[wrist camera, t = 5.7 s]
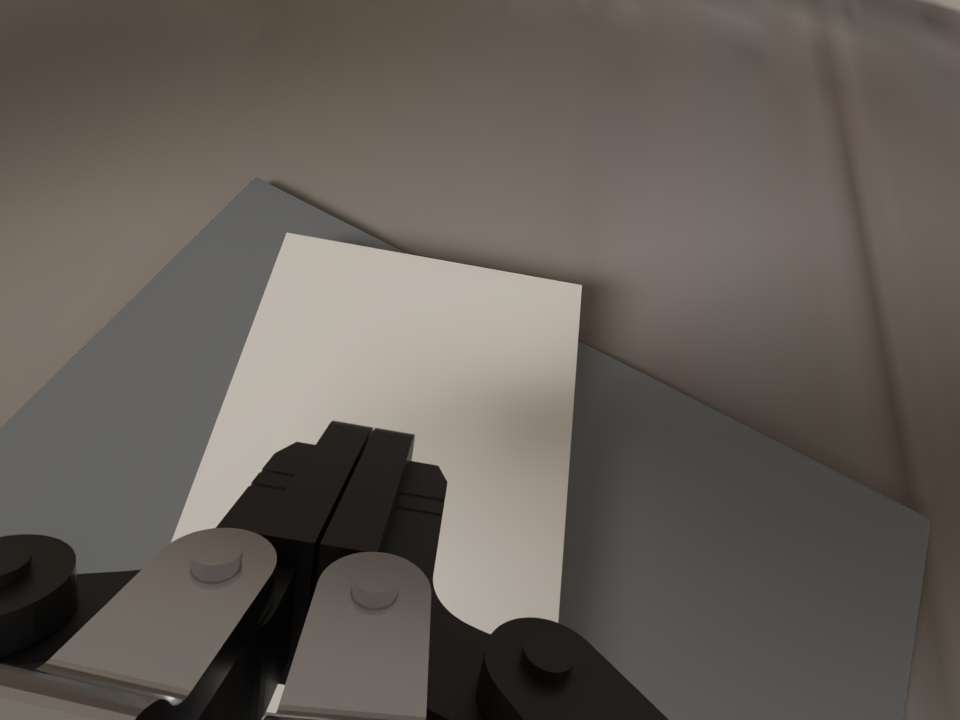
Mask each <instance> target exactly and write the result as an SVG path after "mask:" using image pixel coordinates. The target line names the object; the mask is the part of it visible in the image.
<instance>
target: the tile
mask: <svg viewBox="0 0 960 720" xmlns="http://www.w3.org/2000/svg"><path fill="white" fill-rule="evenodd" d="M581 292H582V285H578V284H573V283H567V282H561V281H556V280H550V279H545V278H539V277H533V276H528V275H522V274H516V273H511V272H505V271H500V270H494V269H488V268H483V267H477V266H472V265H466V264H460V263H455V262H449V261H444V260H438V259H432V258H427V257H421V256H416V255H410V254H404V253H399V252H393V251H387V250H382V249H376V248H371V247H365V246H359V245H354V244H348V243H343V242H337V241H331V240H326V239H320V238H315V237H309V236H303V235H298V234H292V233H286V236H285V238H284V241H283V244H282V246H281V249H280V252H279V254H278V257H277V260H276V262H275V265H274V268H273V270H272V273H271V276H270V279H269V281H268V284H267V287H266V289H265V292H264V295H263V297H262V300H261V303H260V305H259V308H258V311H257V313H256V316H255V319H254V321H253V324H252V327H251V329H250V332H249V335H248V337H247V340H246V343H245V346H244V348H243V351H242V354H241V356H240V359H239V362H238V364H237V367H236V370H235V372H234V375H233V378H232V380H231V383H230V386H229V388H228V391H227V394H226V396H225V399H224V402H223V404H222V407H221V410H220V412H219V415H218V418H217V421H216V423H215V426H214V429H213V431H212V434H211V437H210V439H209V442H208V445H207V447H206V450H205V453H204V455H203V458H202V461H201V463H200V466H199V469H198V471H197V474H196V477H195V479H194V482H193V485H192V487H191V490H190V493H189V496H188V498H187V501H186V504H185V506H184V509H183V512H182V514H181V517H180V520H179V522H178V525H177V528H176V530H175V533H174V536H173V538H172V541H171V543H172V542H173V541H175V540H176V539H178V538H181V537H183V536H185V535H188V534H190V533H193V532H197V531H201V530H205V529H212V528H216V527H217V525H218V524H219V523H220V522H221V520H222V519H223V518H224V517H225V515H226V514H227V513H228V512H229V510H230V509H231V508H232V506H233V505H234V504H235V503H236V501H237V500H238V499H239V498H240V496H241V495H242V494H243V493H244V491H245V490H246V489H247V487H248V486H251V483H252V481H253V480H254V479H255V477H256V476H257V475H258V474H259V472H262V468H263V467H264V466H265V465H266V463H267V462H268V461H269V460H270V458H271V457H272V456H273V455H274V453H276V452H278V451H280V450H282V449H284V448H286V447H288V446H289V445H291V444H293V443H295V442H302V443H308V444H313V445H316V444H317V442H318V441H319V439H320V438H321V436H322V434H323V433H324V431H325V430H326V428H327V427H328V425H329V424H330V422H331V421H339V422H345V423H351V424H356V425H362V426H368V427H373V431H374V429H375V428H380V429H386V430H392V431H398V432H404V433H409V434H415V440H414V448H413V454H412V460H411V461H414V462H420V463H426V464H432V465H438V466H439V468H440V470H441V471H442V473H443V475H444V477H445V479H446V480H447V482H448V483H447V489H446V496H445V502H444V509H443V515H442V522H441V528H440V535H439V541H438V548H437V554H436V561H435V567H434V574H433V585H434V590H435V592H436V595H437V597H438V598H439V600H440V601H441V603H442V604H443V605H444V606H445V608H446V609H447V610H448V611H449V612H451V613H452V614H453V615H454V616H455V617H457V618H458V619H460V620H461V621H463V622H465V623H467V624H469V625H471V626H473V627H475V628H477V629H479V630H482V631H484V632H486V633H488V634H492V632H493V631H494V630H495V629H496V628H497V627H499V626H500V625H502V624H503V623H505V622H507V621H510V620H513V619H517V618H524V617H534V618H542V619H547V620H551V621H554V622H557V623H558V618H559V604H560V590H561V576H562V562H563V547H564V533H565V519H566V505H567V491H568V476H569V462H570V448H571V434H572V420H573V405H574V391H575V377H576V363H577V348H578V334H579V320H580V306H581ZM284 687H285V685H282V684H278V685H277V687H276V690H275V692H274V694H273V697H272V699H271V701H270V704H269V706H268V708H267V710H266V712H271V713H276V712H277V709H278V706H279V703H280V700H281V697H282V693H283V690H284Z"/></svg>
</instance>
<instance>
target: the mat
mask: <svg viewBox="0 0 960 720" xmlns="http://www.w3.org/2000/svg"><path fill="white" fill-rule="evenodd" d="M286 233H292V234H298V235H303V236H309V237H315V238H320V239H326V240H331V241H337V242H343V243H348V244H354V245H359V246H365V247H371V248H376V249H382V250H387V251H393V252H399V253H404V252H402V251H400V250H399V249H397V248H395V247H393V246H391V245H389V244H387V243H385V242H383V241H381V240H379V239H377V238H375V237H373V236H371V235H369V234H367V233H365V232H363V231H361V230H359V229H357V228H355V227H353V226H351V225H349V224H347V223H345V222H343V221H341V220H339V219H337V218H335V217H333V216H331V215H329V214H327V213H326V212H324V211H322V210H320V209H318V208H316V207H314V206H312V205H310V204H308V203H306V202H304V201H302V200H300V199H298V198H296V197H294V196H292V195H290V194H288V193H286V192H284V191H282V190H280V189H278V188H276V187H274V186H272V185H270V184H268V183H266V182H264V181H262V180H260V179H258V178H256V177H255V178H254V179H253V180H252V181H251V182H250V183H249V184H248V185H247V186H246V187H245V188H244V189H243V190H242V191H241V192H240V193H239V194H238V195H237V196H236V197H235V198H234V199H233V200H232V201H231V202H230V203H229V204H228V205H227V206H226V207H225V208H224V209H223V210H222V211H221V212H220V213H219V214H218V215H217V216H216V217H215V218H214V219H213V220H212V221H211V222H210V223H209V224H208V225H207V226H206V227H205V228H204V229H203V230H202V231H201V232H200V233H199V234H198V235H197V236H196V237H195V238H194V239H193V240H192V241H191V242H190V243H189V244H188V245H187V246H186V247H184V248H183V249H182V250H181V251H180V252H179V253H178V254H177V255H176V256H175V257H174V258H173V259H172V260H171V261H170V262H169V263H168V264H167V265H166V266H165V267H164V268H163V269H162V270H161V271H160V272H159V273H158V274H157V275H156V276H155V277H154V278H153V279H152V280H151V281H150V282H149V283H148V284H147V285H146V286H145V287H144V288H143V289H142V290H141V291H140V292H139V293H138V294H137V295H136V296H135V297H134V298H133V299H132V300H131V301H130V302H129V303H128V304H127V305H126V306H125V307H124V308H123V309H122V310H121V311H120V312H119V313H118V314H117V315H116V316H115V317H113V318H112V319H111V320H110V321H109V322H108V323H107V324H106V325H105V326H104V327H103V328H102V329H101V330H100V331H99V332H98V333H97V334H96V335H95V336H94V337H93V338H92V339H91V340H90V341H89V342H88V343H87V344H86V345H85V346H84V347H83V348H82V349H81V350H80V351H79V352H78V353H77V354H76V355H75V356H74V357H73V358H72V359H71V360H70V361H69V362H68V363H67V364H66V365H65V366H64V367H63V368H62V369H61V370H60V371H59V372H58V373H57V374H56V375H55V376H54V377H53V378H52V379H51V380H50V381H49V382H48V383H47V384H46V385H45V386H44V387H42V388H41V389H40V390H39V391H38V392H37V393H36V394H35V395H34V396H33V397H32V398H31V399H30V400H29V401H28V402H27V403H26V404H25V405H24V406H23V407H22V408H21V409H20V410H19V411H18V412H17V413H16V414H15V415H14V416H13V417H12V418H11V419H10V420H9V421H8V422H7V423H6V424H5V425H4V426H3V427H2V428H1V429H0V537H3V536H9V535H19V534H35V535H45V536H50V537H54V538H57V539H60V540H62V541H64V542H65V543H67V544H69V545H70V546H71V547H72V548H73V550H74V552H75V554H76V567H77V574H85V573H102V572H118V571H132V570H141V569H143V568H144V567H145V566H146V565H147V564H148V563H149V562H150V561H151V560H152V559H153V558H154V557H155V556H156V555H157V554H158V553H159V552H160V551H161V550H162V549H164V548H165V547H166V546H167V545H168V544H170V543H171V541H172V538H173V536H174V533H175V530H176V528H177V525H178V522H179V520H180V517H181V514H182V512H183V509H184V506H185V504H186V501H187V498H188V496H189V493H190V490H191V487H192V485H193V482H194V479H195V477H196V474H197V471H198V469H199V466H200V463H201V461H202V458H203V455H204V453H205V450H206V447H207V445H208V442H209V439H210V437H211V434H212V431H213V429H214V426H215V423H216V421H217V418H218V415H219V412H220V410H221V407H222V404H223V402H224V399H225V396H226V394H227V391H228V388H229V386H230V383H231V380H232V378H233V375H234V372H235V370H236V367H237V364H238V362H239V359H240V356H241V354H242V351H243V348H244V346H245V343H246V340H247V337H248V335H249V332H250V329H251V327H252V324H253V321H254V319H255V316H256V313H257V311H258V308H259V305H260V303H261V300H262V297H263V295H264V292H265V289H266V287H267V284H268V281H269V279H270V276H271V273H272V270H273V268H274V265H275V262H276V260H277V257H278V254H279V252H280V249H281V246H282V244H283V241H284V238H285V236H286ZM404 254H406V253H404ZM930 527H931V519H929V518H927V517H925V516H923V515H921V514H919V513H918V512H916V511H914V510H912V509H910V508H908V507H906V506H904V505H902V504H900V503H898V502H896V501H894V500H892V499H890V498H888V497H886V496H884V495H882V494H880V493H878V492H876V491H874V490H872V489H870V488H868V487H866V486H864V485H862V484H860V483H858V482H856V481H854V480H852V479H850V478H848V477H846V476H844V475H843V474H841V473H839V472H837V471H835V470H833V469H831V468H829V467H827V466H825V465H823V464H821V463H819V462H817V461H815V460H813V459H811V458H809V457H807V456H805V455H803V454H801V453H799V452H797V451H795V450H793V449H791V448H789V447H787V446H785V445H783V444H781V443H779V442H777V441H775V440H773V439H771V438H770V437H768V436H766V435H764V434H762V433H760V432H758V431H756V430H754V429H752V428H750V427H748V426H746V425H744V424H742V423H740V422H738V421H736V420H734V419H732V418H730V417H728V416H726V415H724V414H722V413H720V412H718V411H716V410H714V409H712V408H710V407H708V406H706V405H704V404H702V403H700V402H698V401H696V400H695V399H693V398H691V397H689V396H687V395H685V394H683V393H681V392H679V391H677V390H675V389H673V388H671V387H669V386H667V385H665V384H663V383H661V382H659V381H657V380H655V379H653V378H651V377H649V376H647V375H645V374H643V373H641V372H639V371H637V370H635V369H633V368H631V367H629V366H627V365H625V364H623V363H622V362H620V361H618V360H616V359H614V358H612V357H610V356H608V355H606V354H604V353H602V352H600V351H598V350H596V349H594V348H592V347H590V346H588V345H586V344H584V343H582V342H580V341H578V348H577V363H576V377H575V391H574V405H573V420H572V434H571V448H570V462H569V476H568V491H567V505H566V519H565V533H564V547H563V562H562V576H561V590H560V604H559V618H558V623H559V624H562V625H564V626H566V627H568V628H570V629H572V630H573V631H575V632H576V633H578V634H579V635H581V636H582V637H583V638H584V639H585V640H587V641H588V642H589V643H590V644H591V645H592V646H593V647H594V648H595V649H596V650H597V651H598V652H599V653H600V654H601V655H602V656H603V657H604V658H605V659H606V660H608V661H609V662H610V663H611V664H612V665H613V666H614V667H615V668H616V669H617V670H618V671H619V672H620V673H621V674H622V675H623V676H624V677H625V678H626V679H627V680H628V681H629V682H630V683H631V684H632V685H633V686H634V687H636V688H637V689H638V690H639V691H640V692H641V693H642V694H643V695H644V696H645V697H646V698H647V699H648V700H649V701H650V702H651V703H652V704H653V705H654V706H655V707H656V708H657V709H658V710H659V711H660V712H661V713H662V714H664V715H665V716H666V717H667V718H668V719H669V720H903V719H904V712H905V705H906V698H907V691H908V684H909V677H910V670H911V662H912V655H913V648H914V641H915V634H916V627H917V620H918V613H919V605H920V598H921V591H922V584H923V577H924V570H925V563H926V556H927V549H928V541H929V534H930ZM275 714H276V713H271V712H265V714H264V719H265V717H266V716H267V715H271V716H275Z"/></svg>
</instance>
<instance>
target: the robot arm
mask: <svg viewBox="0 0 960 720" xmlns="http://www.w3.org/2000/svg"><path fill="white" fill-rule="evenodd" d="M414 440H415V434H409V433H404V432H398V431H392V430H386V429H380V428H375V429H374V431H373V427H368V426H362V425H356V424H351V423H345V422H339V421H331V422H330V424H329V425H328V427H327V428H326V430H325V431H324V433H323V434H322V436H321V438H320V439H319V441H318V442H317V444H316V445H313V444H308V443H302V442H295V443H293V444H291V445H289V446H288V447H286V448H284V449H282V450H280V451H278V452H276V453H274V455H273V456H272V457H271V458H270V460H269V461H268V462H267V463H266V465H265V466H264V467H263V468H262V472H259V474H258V475H257V476H256V477H255V479H254V480H253V481H252V483H251V486H248V487H247V489H246V490H245V491H244V493H243V494H242V495H241V496H240V498H239V499H238V500H237V501H236V503H235V504H234V505H233V506H232V508H231V509H230V510H229V512H228V513H227V514H226V515H225V517H224V518H223V519H222V520H221V522H220V523H219V524H218V525H217V527H216V528H212V529H205V530H201V531H197V532H193V533H190V534H188V535H185V536H183V537H181V538H178V539H176V540H175V541H173V542H172V543H170V544H168V545H167V546H166V547H165V548H164V549H162V550H161V551H160V552H159V553H158V554H157V555H156V556H155V557H154V558H153V559H152V560H151V561H150V562H149V563H148V564H147V565H146V566H145V567H144V568H143V569H141V570H132V571H118V572H102V573H85V574H77V567H76V554H75V552H74V550H73V548H72V547H71V546H70V545H69V544H67V543H65V542H64V541H62V540H60V539H57V538H54V537H50V536H45V535H35V534H19V535H9V536H3V537H0V720H669V719H668V718H667V717H666V716H665V715H664V714H662V713H661V712H660V711H659V710H658V709H657V708H656V707H655V706H654V705H653V704H652V703H651V702H650V701H649V700H648V699H647V698H646V697H645V696H644V695H643V694H642V693H641V692H640V691H639V690H638V689H637V688H636V687H634V686H633V685H632V684H631V683H630V682H629V681H628V680H627V679H626V678H625V677H624V676H623V675H622V674H621V673H620V672H619V671H618V670H617V669H616V668H615V667H614V666H613V665H612V664H611V663H610V662H609V661H608V660H606V659H605V658H604V657H603V656H602V655H601V654H600V653H599V652H598V651H597V650H596V649H595V648H594V647H593V646H592V645H591V644H590V643H589V642H588V641H587V640H585V639H584V638H583V637H582V636H581V635H579V634H578V633H576V632H575V631H573V630H572V629H570V628H568V627H566V626H564V625H562V624H559V623H557V622H554V621H551V620H547V619H542V618H534V617H524V618H517V619H513V620H510V621H507V622H505V623H503V624H502V625H500V626H499V627H497V628H496V629H495V630H494V631H493V632H492V634H488V633H486V632H484V631H482V630H479V629H477V628H475V627H473V626H471V625H469V624H467V623H465V622H463V621H461V620H460V619H458V618H457V617H455V616H454V615H453V614H452V613H451V612H449V611H448V610H447V609H446V608H445V606H444V605H443V604H442V603H441V601H440V600H439V598H438V597H437V595H436V592H435V590H434V585H433V574H434V567H435V561H436V554H437V548H438V541H439V535H440V528H441V522H442V515H443V509H444V502H445V496H446V489H447V483H448V482H447V480H446V479H445V477H444V475H443V473H442V471H441V470H440V468H439V466H438V465H432V464H426V463H420V462H414V461H411V460H412V454H413V448H414ZM278 684H282V685H285V687H284V690H283V693H282V697H281V700H280V703H279V706H278V709H277V712H276V714H275V716H271V715H267V716H266V717H265V719H264V714H265V712H266V710H267V708H268V706H269V704H270V701H271V699H272V697H273V694H274V692H275V690H276V687H277V685H278Z"/></svg>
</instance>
